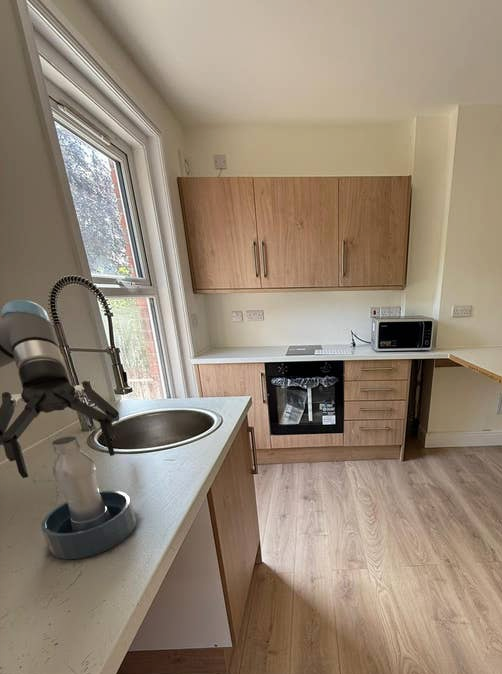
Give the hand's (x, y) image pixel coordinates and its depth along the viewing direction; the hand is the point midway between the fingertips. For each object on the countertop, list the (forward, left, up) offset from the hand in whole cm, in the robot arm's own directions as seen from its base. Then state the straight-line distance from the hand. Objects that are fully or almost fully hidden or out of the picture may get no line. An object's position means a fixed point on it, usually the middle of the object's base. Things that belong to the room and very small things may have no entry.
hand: (70, 463), depth 64 cm
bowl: (+1, -2, -15) cm, 16 cm away
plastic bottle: (+1, -2, -15) cm, 15 cm away
